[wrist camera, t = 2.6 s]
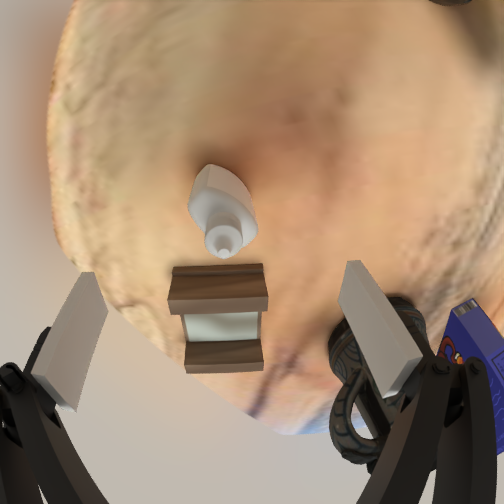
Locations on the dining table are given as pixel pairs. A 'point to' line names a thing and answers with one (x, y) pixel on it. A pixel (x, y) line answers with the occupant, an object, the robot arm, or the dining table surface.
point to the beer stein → (363, 395)
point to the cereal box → (478, 352)
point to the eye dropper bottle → (222, 211)
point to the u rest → (220, 316)
